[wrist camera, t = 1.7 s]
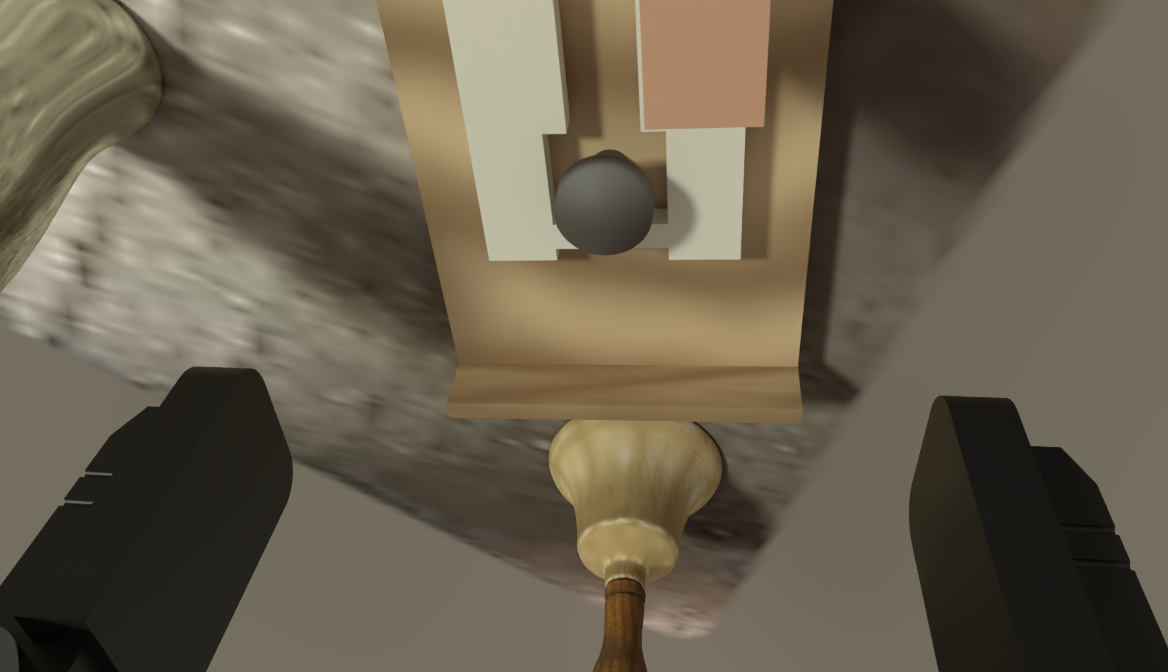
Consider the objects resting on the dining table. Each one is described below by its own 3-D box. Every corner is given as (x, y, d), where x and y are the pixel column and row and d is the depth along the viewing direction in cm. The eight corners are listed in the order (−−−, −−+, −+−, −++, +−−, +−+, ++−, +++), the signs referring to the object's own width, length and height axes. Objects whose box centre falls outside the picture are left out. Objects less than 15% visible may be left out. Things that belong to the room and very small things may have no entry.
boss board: (281, -518, 22) (202, -534, 18) (881, -593, 20) (917, -626, 16) (468, 354, 40) (446, 427, 36) (793, 356, 38) (802, 434, 34)
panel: (358, -537, 20) (178, -592, 13) (770, -589, 19) (805, -679, 12) (494, 245, 33) (439, 417, 27) (739, 243, 32) (748, 423, 25)
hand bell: (590, 377, 40) (539, 729, 28) (754, 441, 41) (774, 801, 29) (524, 484, 45) (457, 819, 33) (672, 537, 47) (660, 876, 35)
